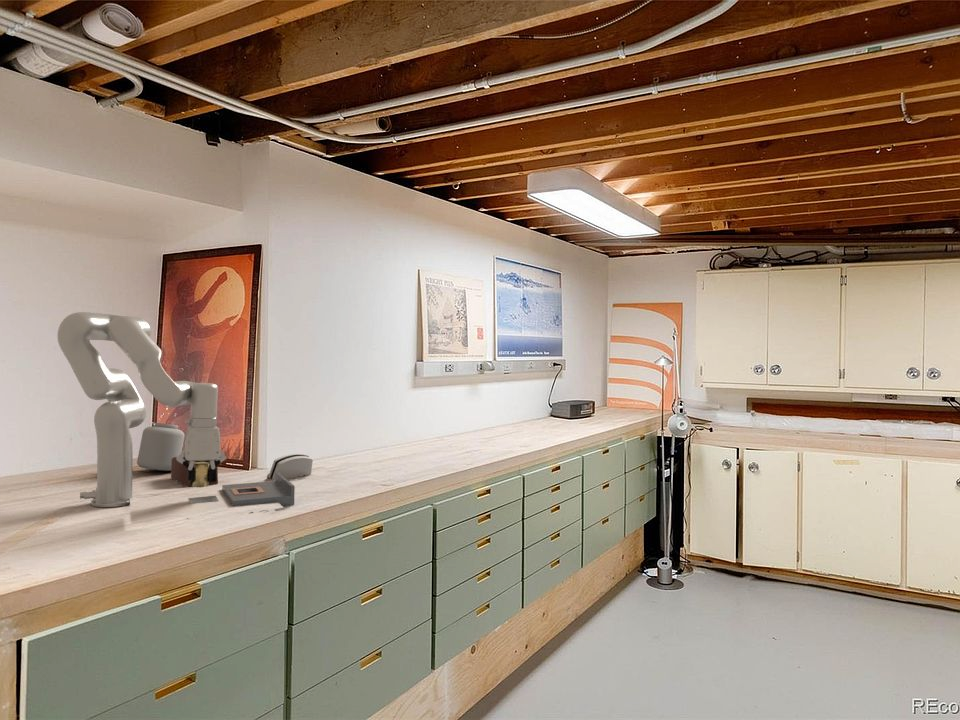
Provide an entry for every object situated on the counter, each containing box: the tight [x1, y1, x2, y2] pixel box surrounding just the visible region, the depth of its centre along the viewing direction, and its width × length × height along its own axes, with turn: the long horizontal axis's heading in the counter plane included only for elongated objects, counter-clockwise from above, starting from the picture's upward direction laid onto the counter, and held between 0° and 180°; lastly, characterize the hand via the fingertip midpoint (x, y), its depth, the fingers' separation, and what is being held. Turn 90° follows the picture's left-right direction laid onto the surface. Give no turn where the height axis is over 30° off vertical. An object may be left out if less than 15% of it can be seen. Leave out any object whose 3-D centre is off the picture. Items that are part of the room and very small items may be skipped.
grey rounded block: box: [266, 453, 314, 481], centre depth 245 cm, size 17×5×10 cm, turn 140°
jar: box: [136, 407, 186, 472], centre depth 252 cm, size 19×15×25 cm
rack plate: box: [221, 472, 296, 507], centre depth 210 cm, size 18×24×6 cm
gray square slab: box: [188, 495, 220, 505], centre depth 202 cm, size 8×8×2 cm
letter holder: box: [170, 457, 219, 488], centre depth 235 cm, size 10×20×14 cm, turn 42°
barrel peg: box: [192, 462, 209, 488], centre depth 202 cm, size 4×4×7 cm
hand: (200, 481), depth 202 cm, fingers closed on barrel peg, 4 cm apart
